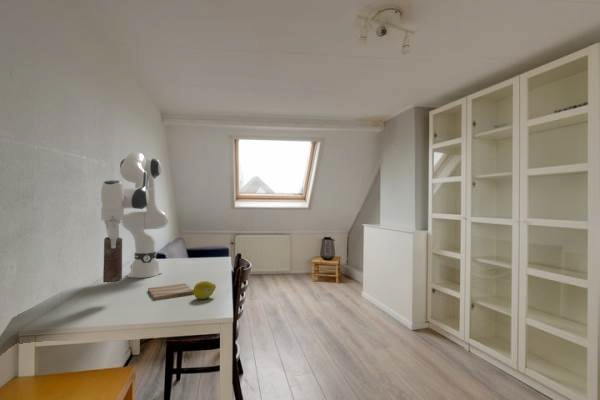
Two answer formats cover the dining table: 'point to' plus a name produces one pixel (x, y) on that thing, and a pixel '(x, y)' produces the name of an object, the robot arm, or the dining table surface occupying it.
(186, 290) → the walnut board
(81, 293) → the dining table surface
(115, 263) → the wooden log
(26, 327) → the dining table surface
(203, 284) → the lemon
